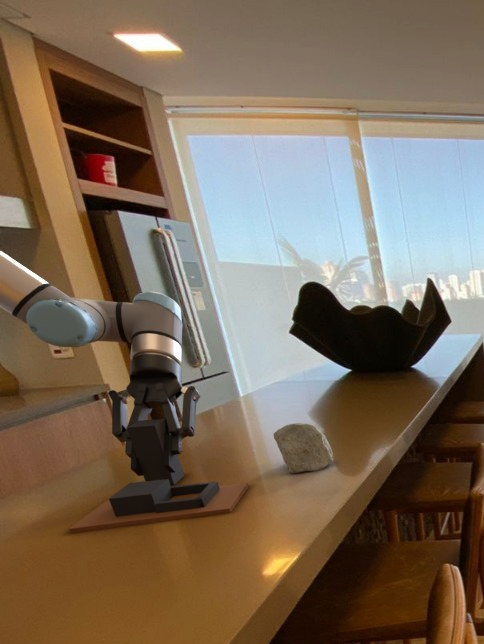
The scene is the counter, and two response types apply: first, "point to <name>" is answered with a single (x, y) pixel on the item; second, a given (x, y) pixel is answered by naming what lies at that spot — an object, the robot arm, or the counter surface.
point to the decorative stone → (303, 447)
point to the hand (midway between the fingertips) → (153, 470)
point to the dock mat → (161, 504)
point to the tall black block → (153, 450)
